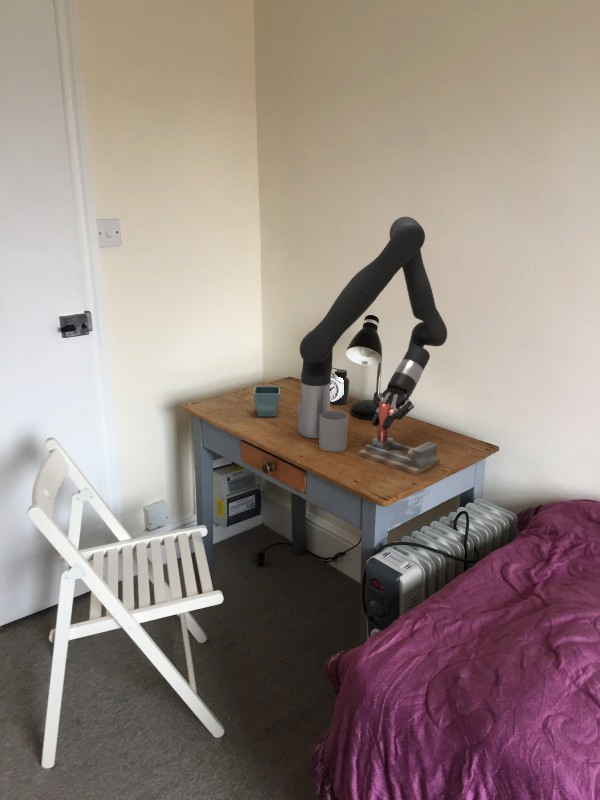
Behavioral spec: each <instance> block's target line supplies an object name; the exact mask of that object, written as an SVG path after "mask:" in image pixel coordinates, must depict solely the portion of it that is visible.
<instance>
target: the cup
mask: <svg viewBox="0 0 600 800" xmlns="http://www.w3.org/2000/svg"><path fill="white" fill-rule="evenodd" d="M348 419H349V417H348V413H346V412H343V411H340V410H339V411H338V410H330V411H326V412H323V413H321V414H320V423H319V438H318V443H319V444H318V447H319V449H321V450H323V451H326V452H342V451H344V450H346V449H347V447H348V445H347V444H348V422H349V421H348Z"/></svg>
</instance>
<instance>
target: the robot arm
mask: <svg viewBox="0 0 600 800" xmlns="http://www.w3.org/2000/svg"><path fill="white" fill-rule="evenodd" d="M425 241H426V233H425V230H424V228H423V227H422V225H421V224H420V222H418V221H417V219H414V218H412V217H410V216H401V217H398V218H397V219H395V221H393V222H392V224H391V225H390V229H389V241H388V242H387V243H386V245H385V246H384V248H383V249H382V250H381V252H380V253H379V254H378V256H377V257H375V259H373V260H372V261H371V262H370V263H369V264H367V265H365V266H364V267H363V268H362V269H361V270H359V271H358V272H357V273H356V274H355V275H354V276H353V277H352V278H351V279H350V280H349V281H348V283H347V284H346V285H345V286H344V287H343V289H342V290H341V292H340V293H339V294H338V296H337V297H336V299H335V301H334V302H333V303H332V305H331V307H330V308H329V310H328V312H327V313H326V314H325V316H324V318H322V320H320V321H319V323H318V324H317V325H316V326H315V327H314V329H312V330H311V331H309V332H308V333H306V335H305V336H304V337H303V338H302V340H301V341H300V343H299V354H300V357H301V359H302V369H301V373H300V403H298V405H297V406H298V407H297V409H298V411H297V416H298V417H297V421H298V422H297V423H298V425H297V428H298V429H297V430H298V431H297V432H298V433H300V435H301V436H302V437H305V438H308V439H309V438H310V439H319V423H320V414H321V413H323V412H326V411H331V402H330V385H331V379H332V371H333V355H334V354H333V353H334V352H333V351H334V350H333V349H334V347H335V345H336V344H337V342H338V341H339V340H340V338H341V336H342V335H344V333H345V332H346V331H347V330H349V328H350V327H351V326H352V325H354V323H356V322H357V321H358V320H359V319H360V318H361V317H362V316H363V314H364V313H366V311H368V309H369V308H370V307H371V306H372V304H373V303H374V302H375V301H376V299H377V298H378V297H379V296H380V294H381V293H382V292H383V291H384V290H385V288H387V285H389V284H390V282H391V280H392V279H393V278H394V276H395V275H396V274H397V273H398V272H399V271H400V270H402V272H403V275H404V281H405V285H406V289H407V293H408V295H407V296H408V299H409V304H410V308H411V312H412V315H413V316H414V318H415V319H417V320H419V321H420V322H418V323H417V324H416V325H415V326H414V327H413V328H412V331H411V334H410V335H411V336H410V340H409V344H408V347H407V351H406V353H405V354H404V357H402V360H401V361H400V363H399V364H398V365H397V368H396V369H395V370H394V373H393V375H392V377H391V378H390V380H389V382H388V384H387V387H386V389H385V390H384V391H382V392H377V391H375V392H374V393H373V401H372V405H371V406H372V410H373V412H375V414H374V416H373V417H372V420H371V424H372V426H373V427H374V428H375V427H376V428H378V418H379V403H381V402H387V403H389V404H390V406H389V416H387V417H386V419H385V421H384V423H383V425H382V427H383V429H384V430H387V429H388V430H389V429H390V427H391V426H392V424H393V422H394V421H395V420H402V419H403V418H404V417H405V416H406V415H407V414H408V413H409V412H411V411H412V410H413V409H414V407H415V405H414V404H413V402H412V401H411V400H410V397H411V396H412V395H413V392H414V391H415V389H416V386H417V384H418V383H419V381H420V379H421V377H422V374H423V372H424V370H425V369H426V366H427V365H428V363H429V360H430V357H431V355H430V352H429V351H428V350H427V349H426V348H424V347H425V346H427V347H428V346H430V347H441V346H443V345H444V344H445V343H446V341H447V339H448V328H447V325H446V324H445V321H444V320H443V317H442V316H441V314H440V312H439V310H438V309H437V307H436V301H435V298H434V293H433V289H432V285H431V283H430V279H429V278H428V277H429V276H428V274H427V270H426V268H425V265H424V262H423V261H424V260H423V256H422V249H421V248H422V247H423V245H424V244H425Z"/></svg>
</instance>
